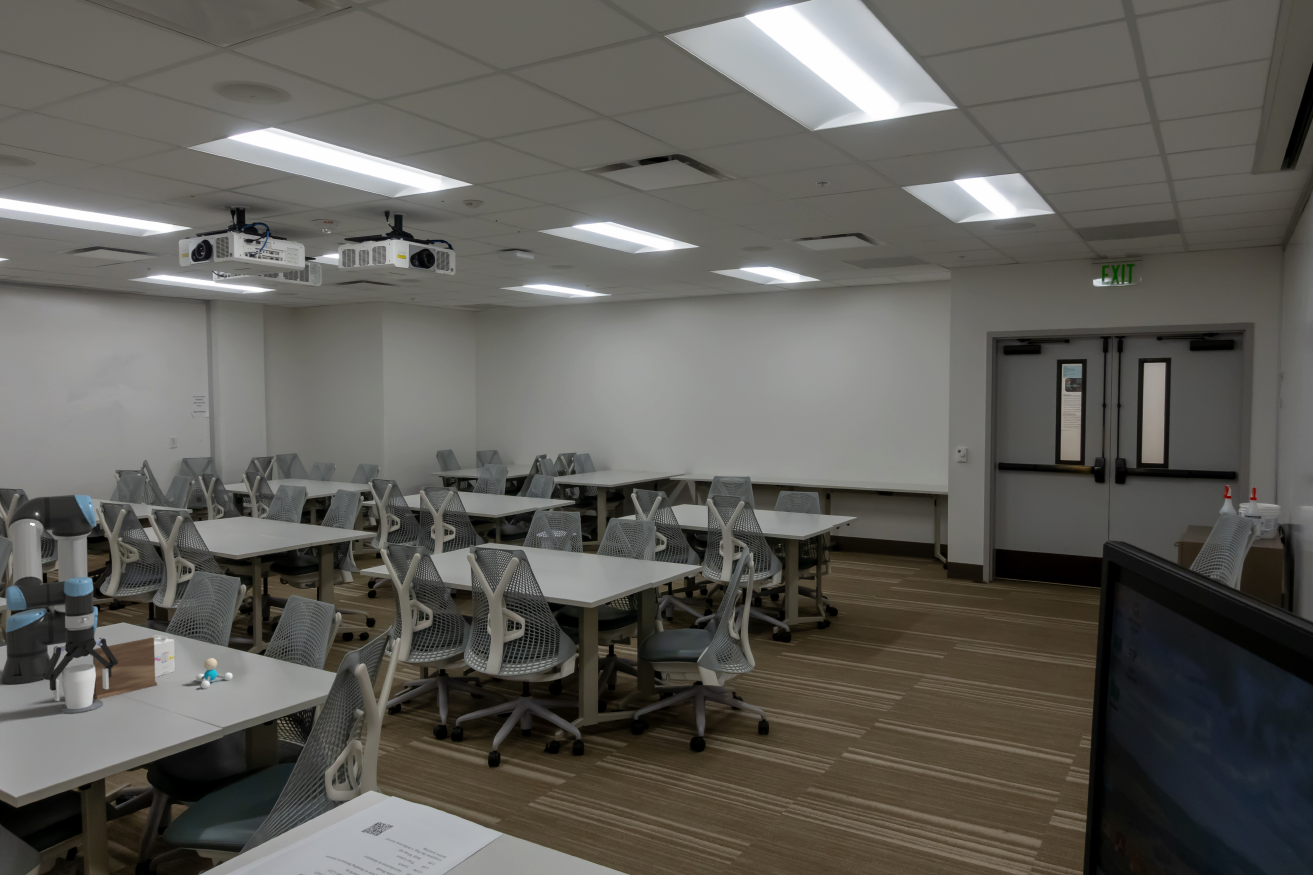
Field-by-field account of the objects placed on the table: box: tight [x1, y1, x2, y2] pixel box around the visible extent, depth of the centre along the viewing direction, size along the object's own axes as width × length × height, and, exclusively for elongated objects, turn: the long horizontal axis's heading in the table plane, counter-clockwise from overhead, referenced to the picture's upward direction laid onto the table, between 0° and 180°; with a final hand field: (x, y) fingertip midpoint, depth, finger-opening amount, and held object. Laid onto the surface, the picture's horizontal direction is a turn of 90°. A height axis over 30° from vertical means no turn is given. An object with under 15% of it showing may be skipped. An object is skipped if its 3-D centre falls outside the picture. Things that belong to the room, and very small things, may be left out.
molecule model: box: [195, 657, 233, 690], centre depth 296 cm, size 12×12×9 cm
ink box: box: [149, 633, 176, 678], centre depth 307 cm, size 9×8×13 cm
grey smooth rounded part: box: [60, 699, 104, 715], centre depth 272 cm, size 11×11×1 cm
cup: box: [61, 663, 96, 710], centre depth 271 cm, size 9×9×12 cm
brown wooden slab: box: [92, 636, 158, 700], centre depth 287 cm, size 4×18×16 cm, turn 143°
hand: (81, 694), depth 272 cm, fingers open, 13 cm apart
